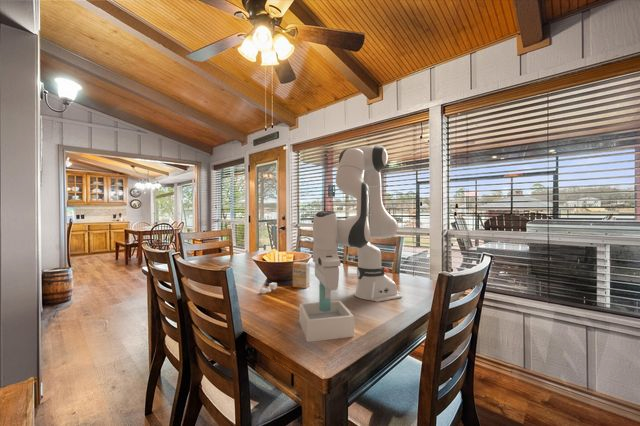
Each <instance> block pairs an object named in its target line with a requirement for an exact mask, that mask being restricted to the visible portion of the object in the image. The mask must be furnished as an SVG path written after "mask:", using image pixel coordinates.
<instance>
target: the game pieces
mask: <svg viewBox="0 0 640 426" xmlns="http://www.w3.org/2000/svg"><path fill="white" fill-rule="evenodd" d="M277 289H278V283H277V282H271V283H269V284H268V286H267V287H261V288H259V292H260V294H262V295H265V294H267V293H270V292H272V290H273V291H274V290H277Z"/></svg>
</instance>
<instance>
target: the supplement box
mask: <svg viewBox="0 0 640 426" xmlns="http://www.w3.org/2000/svg"><path fill="white" fill-rule="evenodd" d="M310 268H311V263H310V262H302V261H294V262H293V263H292V287H293V288H298V289H299V288H301V289H307V288H309V287H310V280H311V279H310V275H311V274H310V271H311V269H310Z"/></svg>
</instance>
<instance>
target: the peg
mask: <svg viewBox="0 0 640 426" xmlns="http://www.w3.org/2000/svg"><path fill="white" fill-rule="evenodd" d="M318 285H319V287H318V288H319V290H318V291H319V292H318V293H319V296H318V298H319V300H318V302H319V310H320V311H323V312H327V311H330V310H331V301H332V299H331V297H332V296H331V294H332V293H331V292H332V291H331V292H330V298H325V297H324V292H325V288H324V286H323V285H322V283H321V284H320V283H319V284H318Z"/></svg>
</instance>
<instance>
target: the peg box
mask: <svg viewBox="0 0 640 426" xmlns="http://www.w3.org/2000/svg"><path fill="white" fill-rule="evenodd" d="M299 324H300V327H301V329H302V332H303V334H304V337H305V339H306V342H307V343H310V342H319V341H326V340H327V341H328V340H336V339H338V340H339V339H346V338H353V337H355V315H354V314H353V313H352V312H351V311H350V310H349V309H348V307H347V306H346V305H345V304H344V303H343V302H342V301H341V300H331V310H330V311H327V312H323V311H320V310H319V301H318V302H304V303H299Z"/></svg>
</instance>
